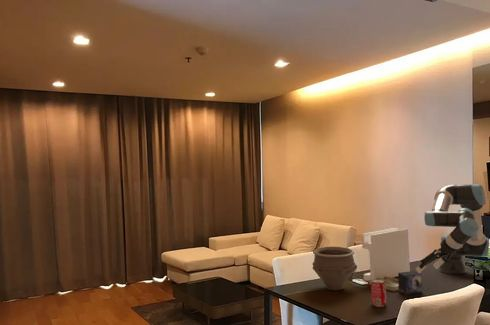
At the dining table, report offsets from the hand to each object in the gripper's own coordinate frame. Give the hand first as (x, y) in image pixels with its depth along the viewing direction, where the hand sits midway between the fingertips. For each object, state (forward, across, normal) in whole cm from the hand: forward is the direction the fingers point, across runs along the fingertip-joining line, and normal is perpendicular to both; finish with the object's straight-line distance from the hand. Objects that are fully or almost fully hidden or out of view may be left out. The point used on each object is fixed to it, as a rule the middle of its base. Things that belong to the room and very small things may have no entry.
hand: (426, 269), depth 209 cm
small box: (+18, 0, -3) cm, 18 cm away
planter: (+38, -27, +18) cm, 50 cm away
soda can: (+14, -29, -6) cm, 33 cm away
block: (+39, +16, +18) cm, 46 cm away
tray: (+28, +1, +8) cm, 29 cm away
